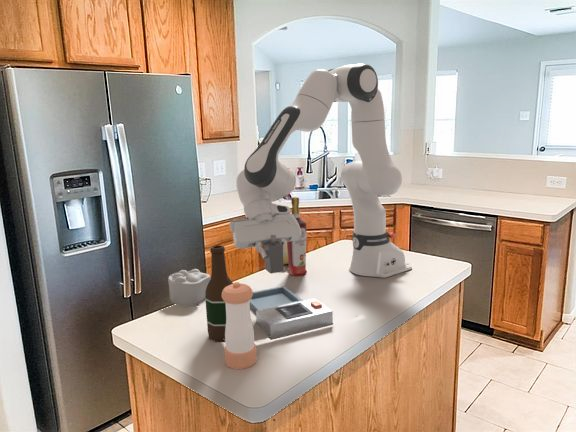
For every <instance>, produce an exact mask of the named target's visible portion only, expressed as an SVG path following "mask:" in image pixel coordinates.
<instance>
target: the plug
mask: <svg viewBox="0 0 576 432" xmlns="http://www.w3.org/2000/svg"><path fill="white" fill-rule="evenodd" d="M263 246H264V250H267V251H268V254H269V256H268V258H264V267H265V268H264V269H265V270H266V271H267V273H270V274H277V273H281V272H282V273H283V272H284V266H285V264H283V244H281V243H280V242H278V241H276V235H271V242H268V243H264V245H263Z"/></svg>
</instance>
